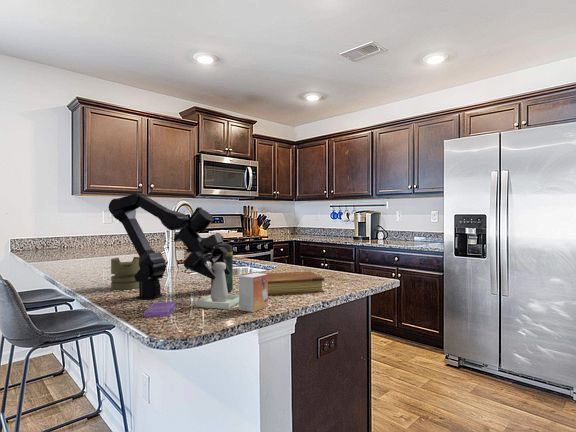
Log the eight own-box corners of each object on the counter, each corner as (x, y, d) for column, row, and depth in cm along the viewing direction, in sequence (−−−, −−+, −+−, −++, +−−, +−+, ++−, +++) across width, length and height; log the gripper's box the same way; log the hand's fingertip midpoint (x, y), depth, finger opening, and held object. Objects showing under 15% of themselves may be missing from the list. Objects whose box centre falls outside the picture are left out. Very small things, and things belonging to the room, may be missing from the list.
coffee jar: (235, 292, 137) (234, 243, 137) (214, 294, 134) (213, 243, 134) (229, 287, 146) (229, 241, 146) (209, 289, 143) (209, 242, 143)
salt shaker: (217, 305, 115) (217, 264, 115) (206, 302, 119) (206, 262, 119) (231, 301, 119) (231, 262, 119) (220, 299, 123) (220, 261, 123)
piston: (142, 259, 144) (110, 260, 139) (142, 289, 144) (110, 292, 139) (140, 256, 154) (111, 257, 149) (141, 284, 154) (111, 286, 149)
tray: (195, 306, 115) (195, 301, 115) (213, 298, 126) (213, 293, 126) (228, 309, 112) (228, 303, 112) (243, 300, 123) (243, 295, 123)
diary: (309, 284, 154) (309, 271, 154) (324, 293, 136) (324, 278, 136) (256, 286, 149) (256, 272, 149) (264, 296, 131) (264, 280, 131)
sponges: (143, 318, 104) (143, 311, 104) (154, 307, 117) (154, 301, 117) (168, 317, 105) (168, 310, 105) (176, 306, 118) (176, 300, 118)
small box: (253, 312, 108) (252, 277, 108) (238, 310, 111) (238, 275, 111) (268, 307, 114) (268, 273, 114) (254, 304, 117) (254, 272, 117)
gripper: (191, 226, 112) (222, 263, 108) (222, 224, 129) (250, 256, 126) (170, 250, 115) (200, 287, 111) (203, 246, 132) (230, 277, 128)
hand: (222, 276), depth 119 cm, fingers open, 9 cm apart
